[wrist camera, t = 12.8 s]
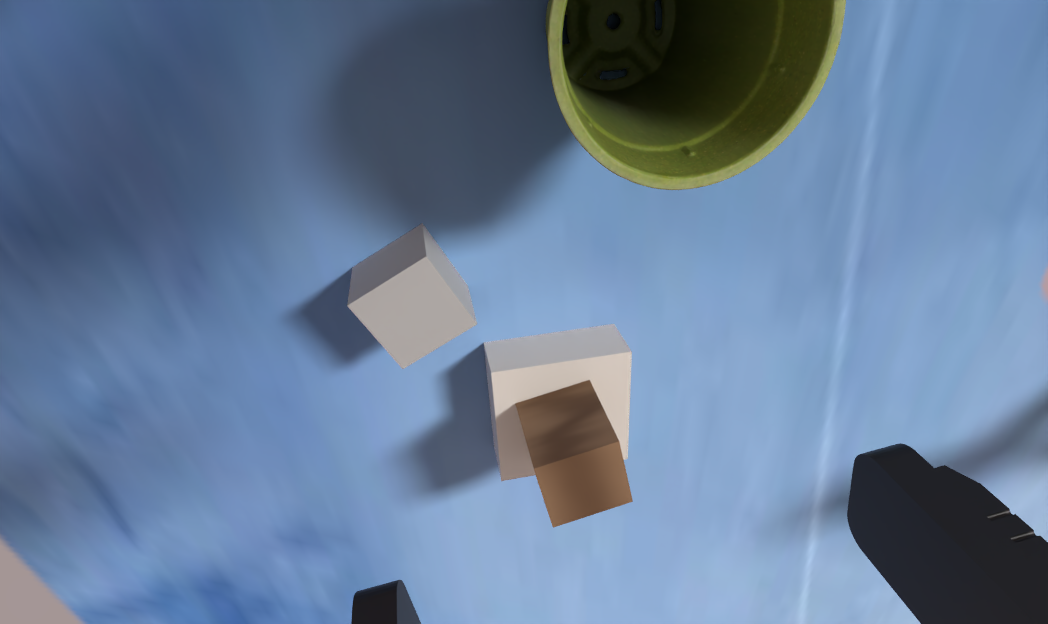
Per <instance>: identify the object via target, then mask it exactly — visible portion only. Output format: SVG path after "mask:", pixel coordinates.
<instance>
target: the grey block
mask: <svg viewBox="0 0 1048 624" xmlns="http://www.w3.org/2000/svg"><path fill="white" fill-rule="evenodd" d="M347 306H348V307H349V308H350V309H351V311H352V312H353V313H354V314H355V315H356V316H357V317H358V319H359V320H360V321H361V322H362V323H363V324H364V325H365V327H366V328H367V329H368V330H369V331H370V332H371V333H372V335H373V336H374V337H375V338H376V339H377V340H378V341H379V343H380V344H381V345H382V346H383V347H384V348H385V349H386V351H387V352H388V353H389V354H390V355H391V356H392V357H393V359H394V360H395V361H396V362H397V363H398V364H399V365H400V367H401V368H402V369H404V368H406V367H407V366H409V365H410V364H412V363H414V362H415V361H417V360H419V359H420V358H422V357H424V356H425V355H427V354H429V353H430V352H432V351H434V350H435V349H437V348H439V347H440V346H442V345H443V344H445V343H447V342H448V341H450V340H452V339H453V338H455V337H457V336H458V335H460V334H462V333H463V332H465V331H467V330H468V329H470V328H472V327H473V326H475V325H477V322H476V318H475V313H474V309H473V305H472V301H471V297H470V293H469V289H468V285H467V284H466V283H465V281H464V280H463V278H462V277H461V276H460V274H459V273H458V272H457V270H456V269H455V267H454V266H453V265H452V263H451V262H450V261H449V259H448V258H447V256H446V255H445V254H444V252H443V251H442V249H441V248H440V247H439V245H438V244H437V243H436V241H435V240H434V238H433V237H432V236H431V234H430V233H429V232H428V230H427V229H426V227H425V226H424V225H423V223H422V224H420V225H419V226H417V227H415V228H414V229H412V230H411V231H409V232H408V233H406V234H404V235H403V236H401V237H400V238H398V239H396V240H395V241H393V242H392V243H390V244H389V245H387V246H385V247H384V248H382V249H381V250H379V251H377V252H376V253H374V254H373V255H371V256H370V257H368V258H366V259H365V260H363V261H362V262H360V263H358V264H357V265H355V266H354V267H352V273H351V281H350V289H349V296H348V304H347Z"/></svg>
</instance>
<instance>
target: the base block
mask: <svg viewBox="0 0 1048 624" xmlns="http://www.w3.org/2000/svg"><path fill="white" fill-rule="evenodd" d="M484 351H485V361H486V371H487V381H488V391H489V402H490V412H491V422H492V432H493V442H494V449H495V453H496V458H497V463H498V467H499V472H500V477H501V481H504V480H510V479H516V478H521V477H527V476H533V475H536V474H535V471H534V468H533V464H532V461H531V457H530V454H529V450H528V447H527V443H526V440H525V436H524V433H523V429H522V426H521V422H520V419H519V415H518V412H517V408H516V405H515V403H518V402H521V401H525V400H528V399H531V398H534V397H537V396H540V395H543V394H547V393H550V392H553V391H556V390H559V389H562V388H565V387H568V386H572V385H575V384H578V383H581V382H584V381H587V380H590V381H591V383H592V386H593V388H594V390H595V392H596V394H597V396H598V398H599V400H600V402H601V404H602V406H603V408H604V411H605V413H606V415H607V417H608V419H609V421H610V423H611V425H612V427H613V429H614V431H615V433H616V435H617V438H618V440H619V442H620V447H621V451H622V456H623V460H625V459H628V434H629V407H630V381H631V354H632V351H631V350H630V348H629V347H628V345H627V344H626V342H625V340H624V339H623V337H622V336H621V334H620V332H619V331H618V329H617V328H616V326H615V325H614V324H610V325H603V326H596V327H589V328H582V329H575V330H568V331H561V332H554V333H547V334H540V335H533V336H526V337H519V338H512V339H505V340H498V341H491V342H484Z"/></svg>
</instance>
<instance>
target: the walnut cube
mask: <svg viewBox="0 0 1048 624" xmlns="http://www.w3.org/2000/svg"><path fill="white" fill-rule="evenodd" d="M515 405H516V408H517V412H518V415H519V419H520V422H521V426H522V429H523V433H524V436H525V440H526V443H527V447H528V450H529V454H530V457H531V461H532V464H533V468H534V471H535V474H536V477H537V480H538V483H539V486H540V489H541V492H542V495H543V498H544V501H545V504H546V508H547V511H548V514H549V517H550V520H551V523H552V526H553V527H556V526H559V525H562V524H565V523H568V522H571V521H575V520H578V519H581V518H584V517H587V516H590V515H593V514H596V513H599V512H602V511H605V510H608V509H611V508H614V507H617V506H620V505H623V504H626V503H629V502H632V496H631V492H630V487H629V483H628V478H627V474H626V469H625V465H624V460H623V456H622V451H621V447H620V442H619V440H618V438H617V435H616V433H615V431H614V429H613V427H612V425H611V423H610V421H609V419H608V417H607V415H606V413H605V411H604V408H603V406H602V404H601V402H600V400H599V398H598V396H597V394H596V392H595V390H594V388H593V386H592V383H591V381H590V380H587V381H584V382H581V383H578V384H575V385H572V386H568V387H565V388H562V389H559V390H556V391H553V392H550V393H547V394H543V395H540V396H537V397H534V398H531V399H528V400H525V401H521V402H518V403H515Z"/></svg>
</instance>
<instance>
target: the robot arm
mask: <svg viewBox="0 0 1048 624" xmlns="http://www.w3.org/2000/svg"><path fill="white" fill-rule="evenodd" d="M847 517H848V523H849V527H850V530H851V532H852V535H853V537H854V539H855V541H856V543H857V544H858V546H859V547H860V549H861V550H862V551H863V553H864V554H865V555H866V556H867V558H868V559H869V560H870V561H871V562H872V564H873V565H874V566H875V567H876V569H877V570H878V571H879V572H880V574H881V575H882V576H883V577H884V578H885V580H886V581H887V582H888V583H889V585H890V586H891V587H892V588H893V590H894V591H895V592H896V593H897V595H898V596H899V597H900V598H901V599H902V601H903V602H904V603H905V604H906V606H907V607H908V608H909V609H910V611H911V612H912V613H913V614H914V615H915V617H916V618H917V619H918V620H919V622H920V623H921V624H1048V542H1047V541H1045V540H1044V539H1043V538H1042V537H1041V536H1036V535H1035V534H1034V530H1033V529H1032V528H1031V527H1029V526H1028V525H1027V524H1026V523H1025V522H1024V521H1023V520H1021V519H1020V518H1019V517H1018V516H1017V515H1016V514H1014V515H1012V514H1011V513H1010V510H1009V508H1008V507H1006V506H1005V505H1004V504H1003V503H1002V502H1001V501H1000V500H998V499H997V498H996V497H995V496H994V495H993V494H992V493H990V492H989V491H988V490H987V489H986V488H985V487H984V486H982V485H981V484H980V483H978V482H976V481H974V480H972V479H970V478H968V477H966V476H964V475H962V474H960V473H958V472H956V471H954V470H953V469H951V468H949V467H947V466H945V465H944V466H941V467H937V468H933V467H932V466H931V465H930V464H929V463H928V462H927V461H926V460H925V459H924V458H923V457H921V456H920V455H919V454H918V453H917V452H916V451H915V450H914V449H912V448H911V447H909V446H907V445H905V444H895V445H892V446H888V447H885V448H881V449H877V450H874V451H870V452H867V453H863V454H860V455H858V456H857V457H856V458H855V461H854V466H853V474H852V481H851V489H850V496H849V504H848V512H847ZM352 624H421V622H420V620H419V618H418V615H417V613H416V611H415V608H414V606H413V604H412V601H411V599H410V597H409V594H408V592H407V590H406V587H405V585H404V583H403V581H402V580H397V581H393V582H390V583H386V584H382V585H379V586H375V587H371V588H368V589H364V590H361V591H357V592H356V593H355V595H354V599H353V607H352Z"/></svg>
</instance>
